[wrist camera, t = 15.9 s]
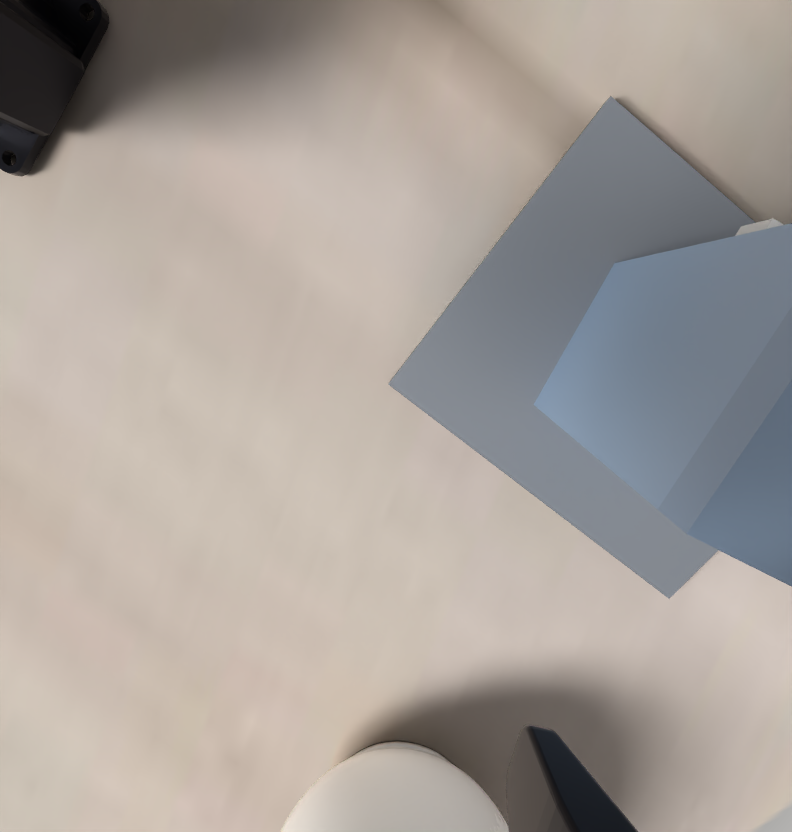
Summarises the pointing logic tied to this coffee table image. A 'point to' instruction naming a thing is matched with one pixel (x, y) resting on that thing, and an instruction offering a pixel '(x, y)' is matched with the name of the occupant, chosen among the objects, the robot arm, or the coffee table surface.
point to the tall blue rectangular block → (693, 389)
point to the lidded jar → (395, 795)
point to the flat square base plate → (567, 330)
